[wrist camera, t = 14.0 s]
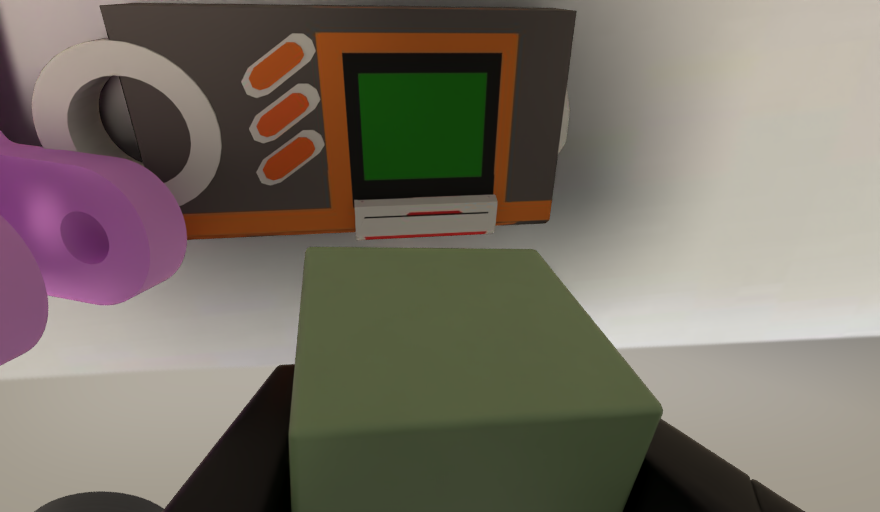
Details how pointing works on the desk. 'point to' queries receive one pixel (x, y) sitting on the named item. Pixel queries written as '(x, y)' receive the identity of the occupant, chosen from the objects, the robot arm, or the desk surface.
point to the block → (457, 388)
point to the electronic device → (327, 113)
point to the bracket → (78, 235)
